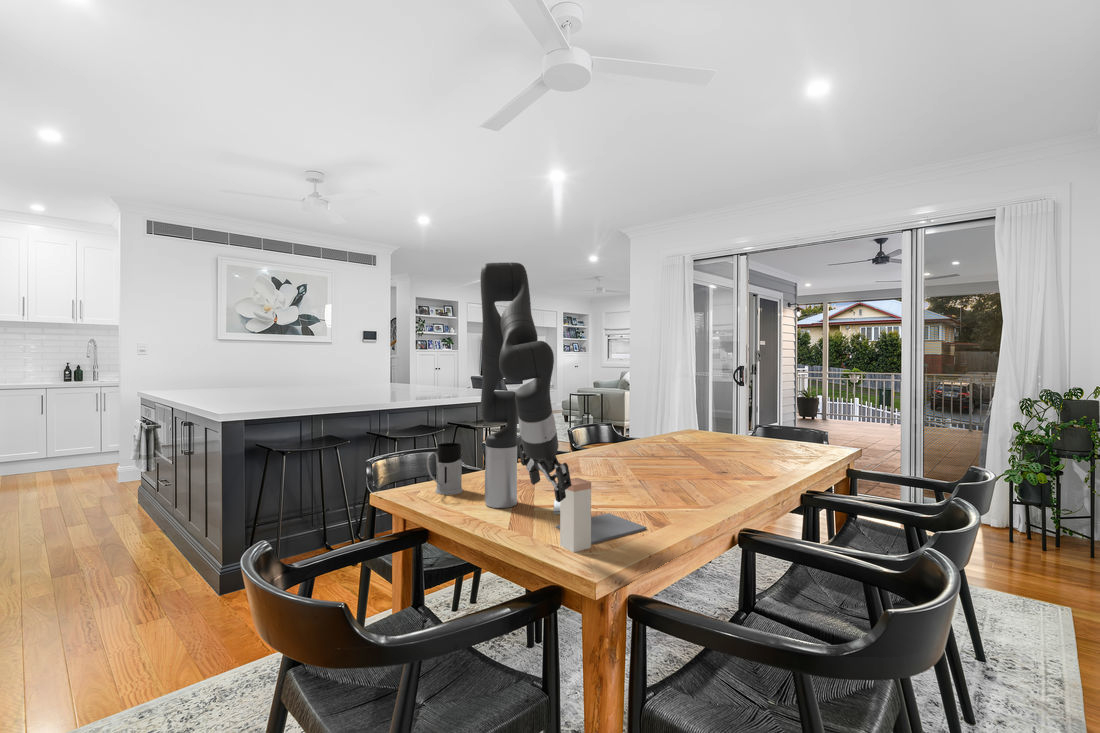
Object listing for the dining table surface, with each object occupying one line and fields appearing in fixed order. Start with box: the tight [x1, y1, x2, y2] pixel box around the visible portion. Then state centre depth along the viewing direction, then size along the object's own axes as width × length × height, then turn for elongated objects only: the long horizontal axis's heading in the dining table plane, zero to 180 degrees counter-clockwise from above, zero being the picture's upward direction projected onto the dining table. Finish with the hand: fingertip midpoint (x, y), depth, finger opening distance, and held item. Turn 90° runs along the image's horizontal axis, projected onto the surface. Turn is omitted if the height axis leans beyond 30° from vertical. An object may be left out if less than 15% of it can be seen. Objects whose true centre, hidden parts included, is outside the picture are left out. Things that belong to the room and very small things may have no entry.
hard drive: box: [553, 498, 560, 515], centre depth 147 cm, size 2×8×12 cm
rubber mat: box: [555, 512, 648, 545], centre depth 129 cm, size 14×18×1 cm
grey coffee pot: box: [426, 442, 464, 496], centre depth 162 cm, size 9×14×15 cm, turn 150°
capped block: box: [559, 477, 592, 553], centre depth 116 cm, size 5×5×15 cm
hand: (548, 490), depth 114 cm, fingers open, 8 cm apart
